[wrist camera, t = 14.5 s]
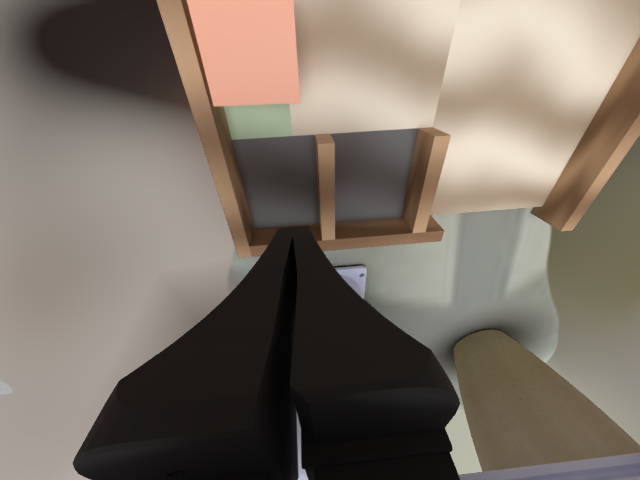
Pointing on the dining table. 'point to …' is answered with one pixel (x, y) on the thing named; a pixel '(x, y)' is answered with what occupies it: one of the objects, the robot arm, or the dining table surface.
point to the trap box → (423, 117)
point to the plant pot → (528, 408)
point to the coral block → (247, 50)
